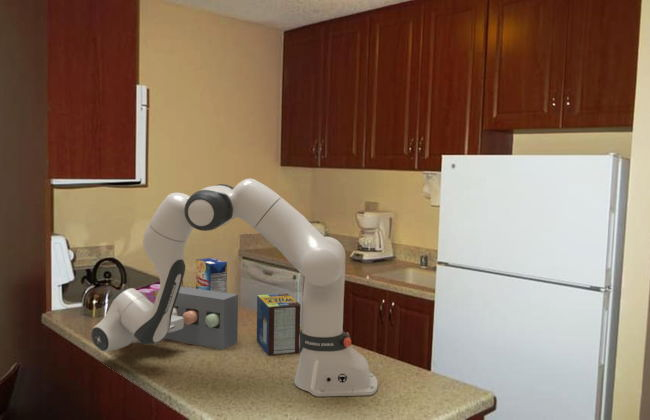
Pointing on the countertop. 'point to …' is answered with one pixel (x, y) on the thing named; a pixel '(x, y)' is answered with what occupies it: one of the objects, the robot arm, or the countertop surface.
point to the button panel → (205, 305)
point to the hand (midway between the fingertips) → (169, 314)
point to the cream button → (175, 311)
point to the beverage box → (211, 275)
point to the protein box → (278, 324)
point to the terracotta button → (191, 316)
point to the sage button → (213, 319)
